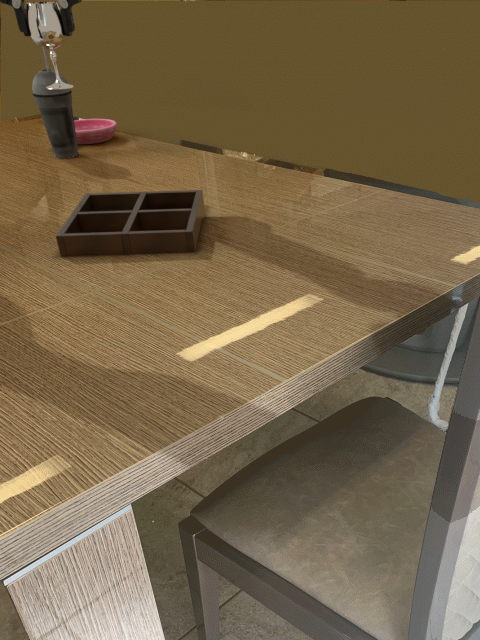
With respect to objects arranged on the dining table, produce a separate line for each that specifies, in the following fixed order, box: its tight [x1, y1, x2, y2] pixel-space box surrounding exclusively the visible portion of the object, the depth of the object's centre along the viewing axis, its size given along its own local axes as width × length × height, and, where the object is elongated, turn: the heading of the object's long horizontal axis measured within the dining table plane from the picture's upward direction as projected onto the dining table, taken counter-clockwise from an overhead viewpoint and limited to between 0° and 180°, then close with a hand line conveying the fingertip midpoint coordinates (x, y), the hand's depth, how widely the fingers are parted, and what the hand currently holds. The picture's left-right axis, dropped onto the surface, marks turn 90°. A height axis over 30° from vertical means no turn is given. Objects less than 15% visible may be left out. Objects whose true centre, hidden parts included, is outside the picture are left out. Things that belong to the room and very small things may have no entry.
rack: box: [55, 189, 206, 258], centre depth 93 cm, size 18×18×4 cm
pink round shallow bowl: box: [74, 118, 118, 145], centre depth 141 cm, size 12×12×3 cm
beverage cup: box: [31, 47, 79, 159], centre depth 125 cm, size 7×7×20 cm
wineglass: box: [25, 1, 75, 90], centre depth 105 cm, size 6×6×12 cm
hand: (48, 35), depth 104 cm, fingers closed on wineglass, 6 cm apart
